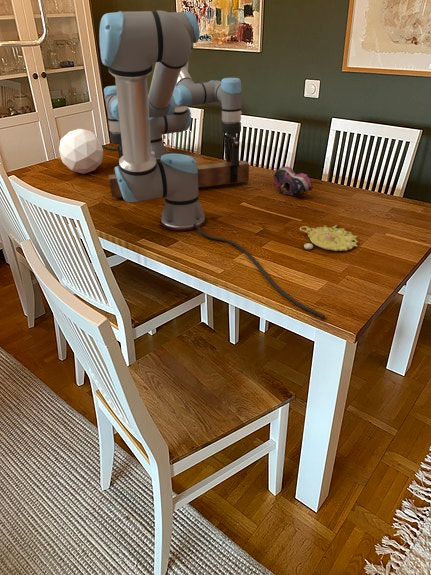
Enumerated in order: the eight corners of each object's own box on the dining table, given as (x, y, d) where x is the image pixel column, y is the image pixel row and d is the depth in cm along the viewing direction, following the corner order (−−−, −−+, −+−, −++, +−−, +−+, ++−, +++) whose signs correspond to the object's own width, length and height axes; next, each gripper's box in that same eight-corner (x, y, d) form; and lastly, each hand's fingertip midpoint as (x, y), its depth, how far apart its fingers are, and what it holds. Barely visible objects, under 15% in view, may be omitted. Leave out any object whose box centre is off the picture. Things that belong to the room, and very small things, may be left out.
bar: (112, 197, 174) (109, 179, 170) (111, 192, 178) (108, 175, 174) (248, 181, 185) (249, 163, 181) (245, 177, 189) (245, 160, 185)
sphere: (90, 188, 207) (76, 163, 188) (59, 168, 212) (42, 141, 193) (116, 160, 212) (105, 132, 193) (86, 141, 216) (72, 112, 198)
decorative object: (343, 255, 128) (285, 234, 139) (342, 262, 130) (284, 241, 140) (372, 230, 142) (317, 213, 152) (371, 237, 143) (316, 219, 153)
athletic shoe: (283, 166, 186) (259, 173, 182) (313, 160, 166) (287, 167, 162) (289, 193, 189) (265, 200, 185) (319, 190, 169) (293, 198, 165)
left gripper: (247, 125, 166) (247, 185, 179) (233, 116, 181) (234, 172, 194) (228, 127, 165) (229, 187, 177) (216, 117, 180) (217, 173, 192)
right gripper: (132, 136, 158) (140, 198, 170) (128, 125, 172) (135, 183, 185) (111, 138, 156) (120, 200, 169) (108, 127, 171) (117, 185, 183)
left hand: (231, 179), depth 185 cm, fingers closed on bar, 5 cm apart
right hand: (128, 191), depth 177 cm, fingers closed on bar, 5 cm apart
